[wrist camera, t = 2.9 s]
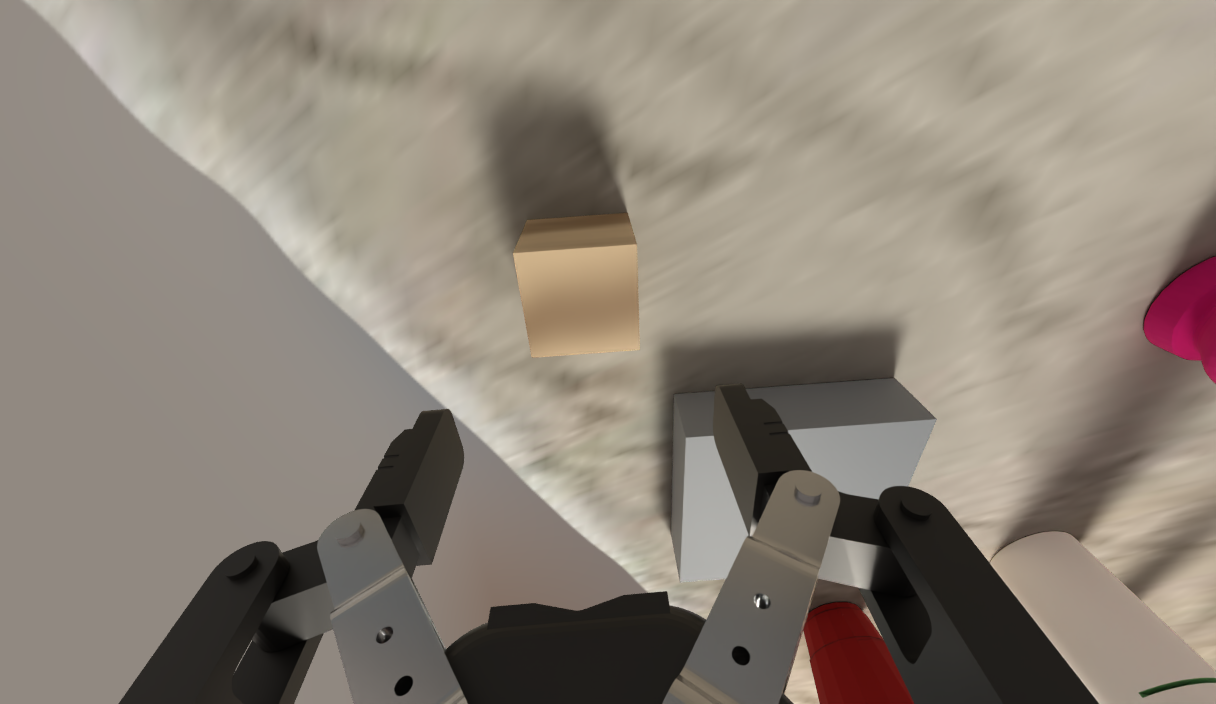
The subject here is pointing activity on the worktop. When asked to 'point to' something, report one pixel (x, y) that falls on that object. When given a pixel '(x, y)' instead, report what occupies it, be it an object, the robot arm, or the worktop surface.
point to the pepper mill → (1187, 316)
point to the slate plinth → (828, 440)
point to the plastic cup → (851, 658)
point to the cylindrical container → (1102, 625)
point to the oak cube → (579, 284)
